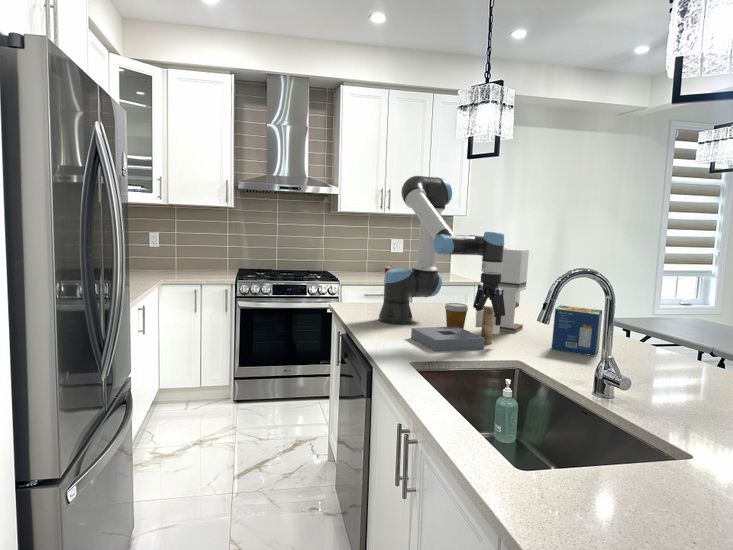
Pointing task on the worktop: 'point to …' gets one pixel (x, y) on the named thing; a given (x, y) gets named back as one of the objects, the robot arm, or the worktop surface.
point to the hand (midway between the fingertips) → (487, 330)
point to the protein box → (576, 330)
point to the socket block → (447, 338)
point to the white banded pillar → (512, 286)
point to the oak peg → (487, 324)
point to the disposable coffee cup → (456, 314)
